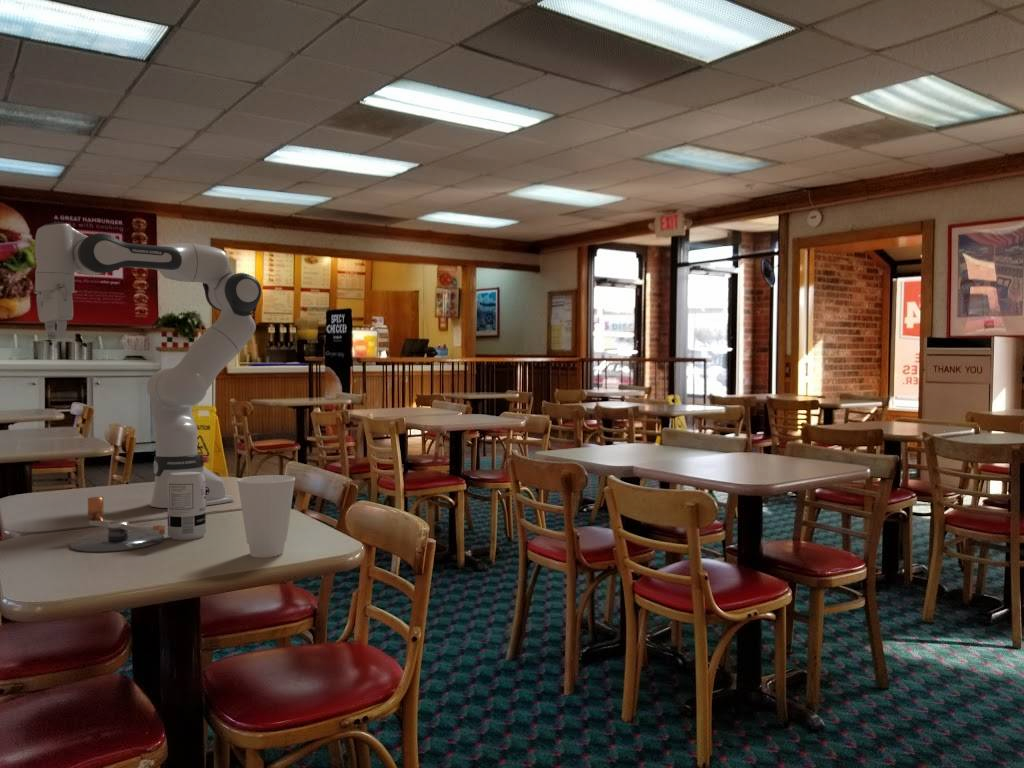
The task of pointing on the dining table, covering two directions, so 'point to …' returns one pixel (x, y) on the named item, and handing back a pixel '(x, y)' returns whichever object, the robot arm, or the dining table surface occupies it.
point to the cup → (266, 512)
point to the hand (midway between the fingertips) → (56, 338)
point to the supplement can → (186, 505)
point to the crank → (98, 520)
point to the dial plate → (116, 541)
